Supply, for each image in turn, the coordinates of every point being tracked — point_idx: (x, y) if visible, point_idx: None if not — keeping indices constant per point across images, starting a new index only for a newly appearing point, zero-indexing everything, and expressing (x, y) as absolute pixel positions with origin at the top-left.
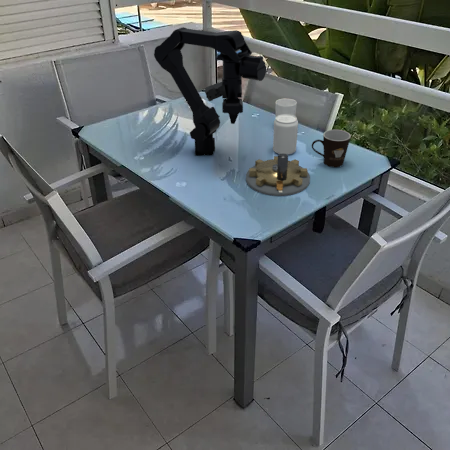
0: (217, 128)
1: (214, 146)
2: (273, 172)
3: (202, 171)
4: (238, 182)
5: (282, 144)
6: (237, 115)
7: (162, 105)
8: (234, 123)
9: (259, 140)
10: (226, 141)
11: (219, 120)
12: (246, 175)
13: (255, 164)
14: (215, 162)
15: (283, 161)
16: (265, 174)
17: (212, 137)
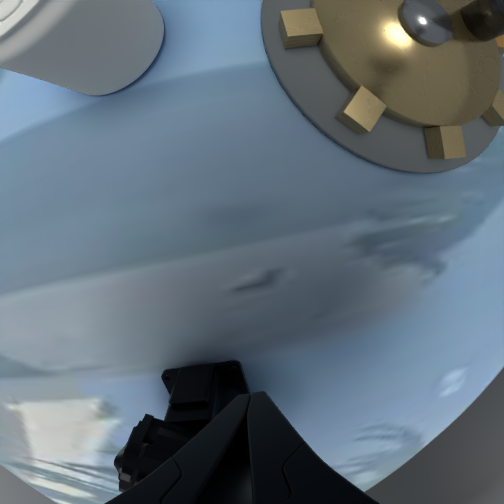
0: (168, 430)
1: (209, 378)
2: (451, 46)
3: (379, 358)
4: (453, 200)
5: (146, 15)
6: (305, 447)
7: (17, 475)
8: (265, 392)
9: (38, 188)
10: (90, 330)
11: (147, 460)
12: (434, 170)
13: (363, 132)
14: (299, 336)
15: None
16: (475, 82)
17: (209, 418)
